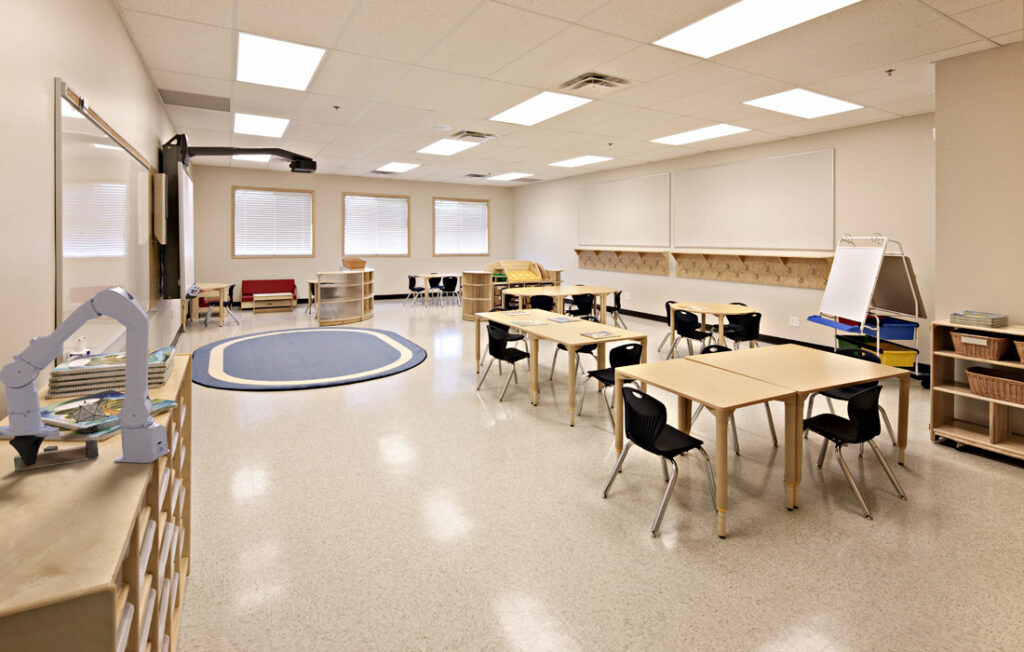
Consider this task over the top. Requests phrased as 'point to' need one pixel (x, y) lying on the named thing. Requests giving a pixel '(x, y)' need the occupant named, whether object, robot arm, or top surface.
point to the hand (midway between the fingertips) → (30, 464)
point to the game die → (88, 412)
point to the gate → (61, 455)
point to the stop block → (50, 448)
